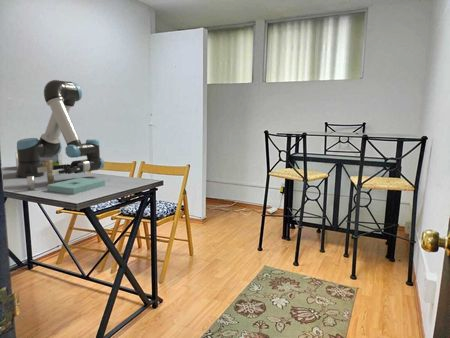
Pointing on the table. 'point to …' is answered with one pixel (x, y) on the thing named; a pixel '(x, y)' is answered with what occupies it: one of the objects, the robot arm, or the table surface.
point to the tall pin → (50, 171)
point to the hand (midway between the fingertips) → (45, 171)
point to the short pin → (30, 183)
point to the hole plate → (75, 185)
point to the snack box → (56, 159)
